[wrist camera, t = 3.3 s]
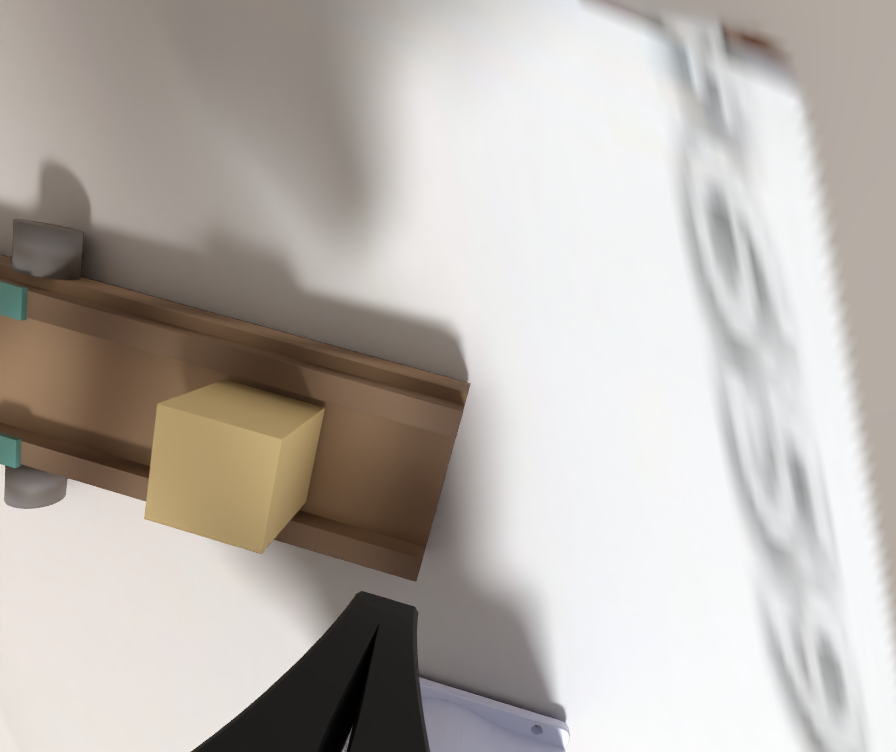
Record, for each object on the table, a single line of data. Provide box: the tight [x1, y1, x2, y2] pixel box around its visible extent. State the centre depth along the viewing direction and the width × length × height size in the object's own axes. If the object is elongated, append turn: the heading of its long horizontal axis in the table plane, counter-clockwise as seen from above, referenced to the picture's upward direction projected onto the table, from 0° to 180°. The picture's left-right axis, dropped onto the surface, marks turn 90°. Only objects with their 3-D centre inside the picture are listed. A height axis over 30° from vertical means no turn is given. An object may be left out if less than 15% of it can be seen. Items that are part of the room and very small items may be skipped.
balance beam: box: [0, 219, 470, 581], centre depth 18 cm, size 26×12×2 cm, turn 76°
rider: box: [144, 379, 325, 554], centre depth 16 cm, size 4×4×4 cm
